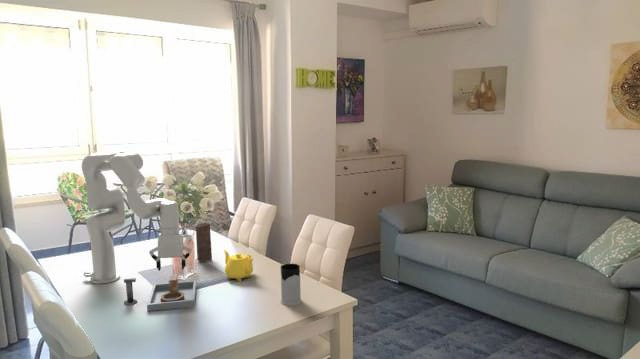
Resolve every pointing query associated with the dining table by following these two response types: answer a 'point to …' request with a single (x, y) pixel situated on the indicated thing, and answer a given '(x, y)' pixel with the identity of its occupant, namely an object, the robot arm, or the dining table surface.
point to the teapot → (238, 266)
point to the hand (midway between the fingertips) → (171, 268)
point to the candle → (203, 242)
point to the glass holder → (290, 285)
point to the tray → (163, 288)
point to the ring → (173, 290)
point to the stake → (129, 291)
